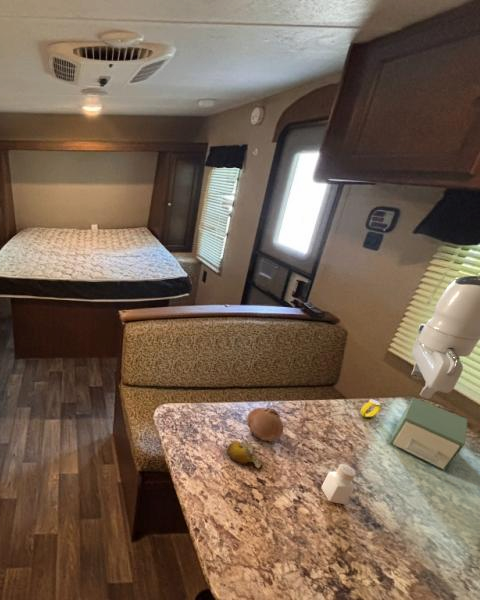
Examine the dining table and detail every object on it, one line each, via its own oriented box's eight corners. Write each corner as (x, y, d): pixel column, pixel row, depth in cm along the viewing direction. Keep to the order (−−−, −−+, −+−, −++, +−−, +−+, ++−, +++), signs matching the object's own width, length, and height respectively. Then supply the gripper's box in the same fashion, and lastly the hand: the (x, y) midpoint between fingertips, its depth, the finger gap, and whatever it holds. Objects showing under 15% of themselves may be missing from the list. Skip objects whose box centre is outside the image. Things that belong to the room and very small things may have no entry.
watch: (364, 420, 103) (371, 405, 101) (355, 413, 106) (362, 400, 103) (378, 417, 104) (386, 404, 102) (369, 411, 107) (377, 398, 104)
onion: (261, 434, 99) (277, 407, 98) (280, 453, 90) (297, 423, 89) (235, 423, 99) (250, 395, 98) (251, 440, 90) (268, 410, 88)
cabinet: (445, 470, 87) (464, 444, 82) (389, 443, 95) (405, 417, 91) (449, 444, 95) (467, 419, 91) (398, 421, 103) (412, 397, 99)
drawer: (441, 479, 83) (458, 456, 80) (389, 452, 90) (402, 431, 87) (447, 444, 94) (462, 423, 90) (400, 423, 101) (413, 403, 98)
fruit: (264, 470, 84) (268, 460, 83) (233, 468, 84) (237, 458, 83) (249, 444, 92) (253, 435, 90) (221, 443, 92) (224, 434, 90)
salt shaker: (328, 502, 77) (343, 476, 73) (319, 487, 80) (333, 461, 77) (346, 505, 76) (362, 478, 72) (336, 489, 80) (351, 463, 76)
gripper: (481, 365, 67) (448, 415, 72) (452, 329, 82) (426, 372, 88) (439, 354, 70) (411, 403, 76) (418, 322, 86) (396, 364, 91)
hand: (419, 386), depth 82 cm, fingers open, 8 cm apart
